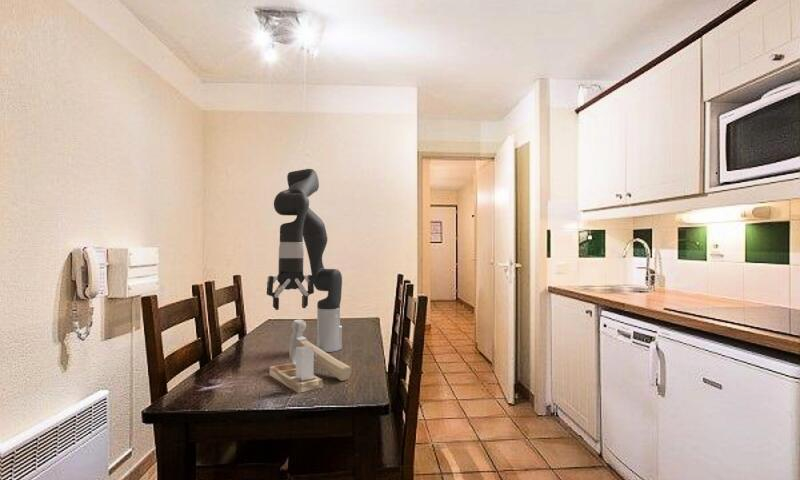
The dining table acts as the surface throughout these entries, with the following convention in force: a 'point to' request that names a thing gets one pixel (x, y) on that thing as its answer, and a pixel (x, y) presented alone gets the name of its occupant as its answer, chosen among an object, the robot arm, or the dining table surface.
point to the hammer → (316, 353)
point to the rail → (294, 378)
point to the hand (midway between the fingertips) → (290, 308)
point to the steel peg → (304, 363)
